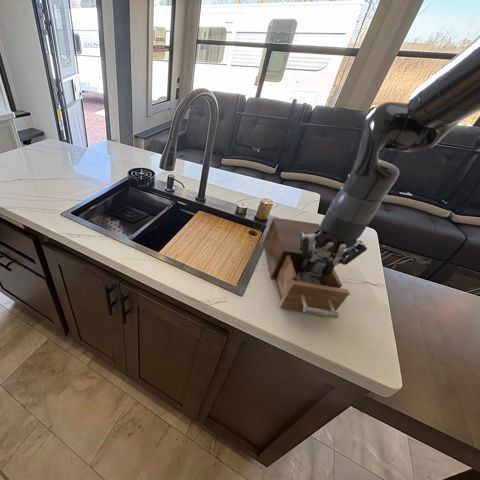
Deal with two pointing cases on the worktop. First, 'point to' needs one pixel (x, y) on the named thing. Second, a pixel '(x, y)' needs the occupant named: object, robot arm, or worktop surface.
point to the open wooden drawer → (309, 289)
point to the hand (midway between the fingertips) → (314, 271)
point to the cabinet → (286, 241)
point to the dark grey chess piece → (313, 272)
